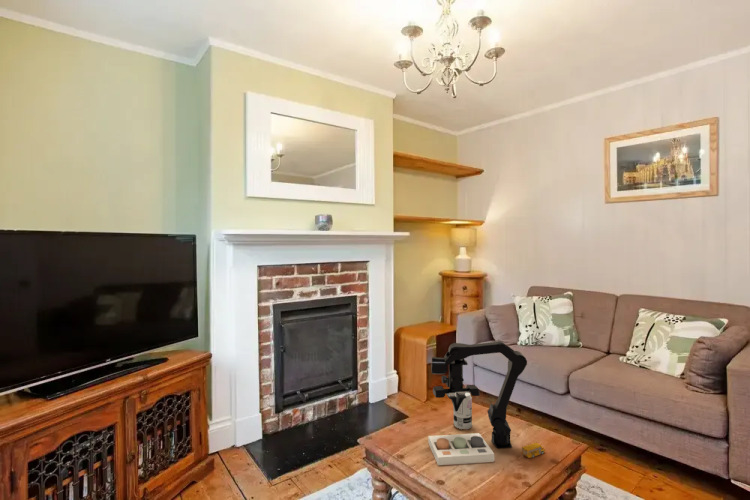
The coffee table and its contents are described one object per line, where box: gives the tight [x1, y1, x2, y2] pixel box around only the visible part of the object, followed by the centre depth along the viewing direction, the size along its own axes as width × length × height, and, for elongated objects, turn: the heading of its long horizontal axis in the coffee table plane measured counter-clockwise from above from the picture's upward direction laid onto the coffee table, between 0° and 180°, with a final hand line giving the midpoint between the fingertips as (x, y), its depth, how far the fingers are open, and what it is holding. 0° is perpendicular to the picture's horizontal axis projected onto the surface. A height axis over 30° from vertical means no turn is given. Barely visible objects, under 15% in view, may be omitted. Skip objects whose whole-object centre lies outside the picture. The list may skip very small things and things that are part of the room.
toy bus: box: [521, 442, 546, 459], centre depth 152 cm, size 3×10×4 cm, turn 116°
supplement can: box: [452, 393, 473, 430], centre depth 175 cm, size 8×8×15 cm
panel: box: [427, 432, 495, 466], centre depth 154 cm, size 22×16×3 cm
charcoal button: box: [471, 436, 484, 448], centre depth 155 cm, size 5×5×3 cm
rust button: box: [437, 438, 449, 450], centre depth 153 cm, size 5×5×3 cm
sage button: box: [454, 437, 466, 449], centre depth 154 cm, size 5×5×3 cm
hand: (456, 411), depth 162 cm, fingers closed
